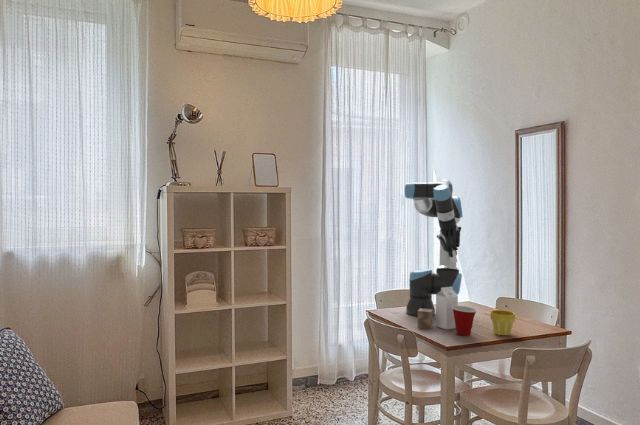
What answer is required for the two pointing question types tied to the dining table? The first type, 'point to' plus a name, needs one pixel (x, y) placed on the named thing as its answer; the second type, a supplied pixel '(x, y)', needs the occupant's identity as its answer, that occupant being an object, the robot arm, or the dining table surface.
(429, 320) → the walnut block
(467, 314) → the plastic cup
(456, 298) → the milk carton
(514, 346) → the dining table surface
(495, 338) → the dining table surface
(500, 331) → the plant pot
